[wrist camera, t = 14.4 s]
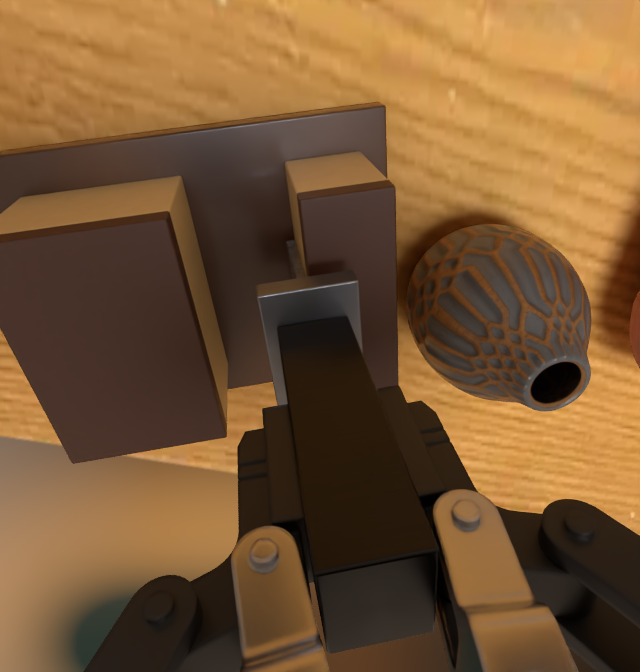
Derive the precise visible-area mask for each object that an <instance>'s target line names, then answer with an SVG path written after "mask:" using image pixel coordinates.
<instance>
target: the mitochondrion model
mask: <svg viewBox="0 0 640 672" xmlns="http://www.w3.org/2000/svg"><path fill="white" fill-rule="evenodd" d="M629 328H630V343H631V347H632V351H633V356H634V358H635V360H636V362H637V364H638V366H639V368H640V290H639V292H638V295H637V297H636V299H635V301H634V303H633V308H632V313H631V319H630V326H629Z"/></svg>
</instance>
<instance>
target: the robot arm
mask: <svg viewBox="0 0 640 672" xmlns="http://www.w3.org/2000/svg"><path fill="white" fill-rule="evenodd" d="M377 392H378V394H379V397H380V399H381V402H382V404H383V407H384V409H385V412H386V415H387V417H388V420H389V422H390V425H391V427H392V430H393V432H394V435H395V437H396V440H397V443H398V445H399V448H400V450H401V453H402V455H403V458H404V460H405V463H406V465H407V468H408V471H409V473H410V476H411V478H412V481H413V483H414V486H415V488H416V491H417V493H418V496H419V499H420V501H421V504H422V506H423V509H424V511H425V514H426V516H427V519H428V521H429V524H430V526H431V529H432V532H433V534H434V537H435V539H436V542H437V544H438V547H439V560H438V578H437V595H436V616H437V620H438V625H439V629H440V633H441V637H442V641H443V646H444V650H445V654H446V658H447V663H448V667H449V671H450V672H578V670H577V668H576V665H575V663H574V661H573V658H572V656H571V654H570V651H569V649H568V647H569V648H570V649H572V650H573V651H574V652H575V653H576V654H577V655H578V656H579V657H580V658H582V659H583V660H584V661H585V662H586V663H587V664H588V665H589V666H591V667H592V668H593V669H594V670H595V671H596V672H640V536H639V535H638V534H636V533H634V532H633V531H631V530H630V529H628V528H627V527H625V526H624V525H622V524H621V523H619V522H617V521H616V520H614V519H613V518H611V517H610V516H608V515H607V514H605V513H604V512H602V511H601V510H599V509H597V508H596V507H594V506H592V505H590V504H588V503H585V502H582V501H579V500H573V499H562V500H557V501H554V502H552V503H551V504H549V505H548V506H547V507H546V508H545V509H544V511H543V514H538V513H528V512H518V511H511V510H506V509H503V508H500V507H498V506H495V505H494V504H493V503H492V502H491V501H490V500H489V499H488V498H487V497H485V496H484V495H482V494H480V493H478V491H477V490H476V489H475V487H474V485H473V483H472V481H471V479H470V477H469V476H468V474H467V472H466V470H465V468H464V466H463V464H462V462H461V460H460V458H459V456H458V454H457V453H456V451H455V449H454V447H453V445H452V443H451V442H450V439H449V437H448V435H447V433H446V431H445V430H444V429H443V426H442V424H441V422H440V420H439V418H438V416H437V414H436V412H435V411H433V410H432V409H431V408H430V407H428V406H427V405H426V404H425V403H423V402H422V401H417V402H411V403H407V402H406V400H405V397H404V395H403V393H402V391H401V389H400V387H399V386H398V385H395V386H390V387H384V388H378V389H377ZM262 412H263V425H264V428H263V429H257V430H252V431H246V432H245V433H244V435H243V437H242V439H241V441H240V443H239V445H238V506H239V507H238V509H239V510H238V512H239V535H238V540H237V543H236V546H235V548H234V549H233V551H232V553H231V554H230V555H229V557H228V558H227V559H226V560H225V561H224V562H223V563H222V564H221V565H219V566H218V567H217V568H215V569H213V570H212V571H210V572H208V573H206V574H204V575H202V576H200V577H199V578H197V579H195V580H193V581H191V582H189V581H188V580H186V579H185V578H183V577H181V576H176V575H166V576H162V577H158V578H156V579H154V580H151V581H150V582H148V583H147V584H145V585H144V586H143V587H141V588H140V589H139V590H138V591H137V592H136V593H135V595H134V596H133V597H132V598H131V600H130V602H129V603H128V604H127V606H126V608H125V609H124V611H123V612H122V614H121V615H120V617H119V618H118V620H117V621H116V623H115V625H114V626H113V628H112V629H111V631H110V632H109V634H108V635H107V637H106V638H105V640H104V641H103V643H102V645H101V646H100V648H99V649H98V651H97V652H96V654H95V655H94V657H93V659H92V660H91V661H90V663H89V665H88V666H87V668H86V669H85V671H84V672H330V671H329V667H328V663H327V659H326V655H325V652H324V648H323V644H322V641H321V639H320V635H319V631H318V627H317V623H316V619H315V615H314V611H313V608H312V601H311V593H310V587H309V583H311V582H314V578H313V573H312V566H311V559H310V552H309V546H308V539H307V532H306V525H305V519H304V512H303V505H302V498H301V491H300V485H299V478H298V471H297V464H296V458H295V451H294V444H293V437H292V431H291V424H290V417H289V410H288V404H285V405H279V406H274V407H268V408H263V409H262ZM567 646H568V647H567Z"/></svg>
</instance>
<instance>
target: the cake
mask: <svg viewBox="0 0 640 672" xmlns="http://www.w3.org/2000/svg"><path fill="white" fill-rule="evenodd" d="M0 328H1V330H2V332H3V334H4V336H5V338H6V340H7V342H8V343H9V345H10V347H11V349H12V351H13V353H14V355H15V357H16V359H17V360H18V362H19V364H20V366H21V368H22V370H23V372H24V374H25V375H26V377H27V379H28V381H29V383H30V385H31V387H32V389H33V391H34V392H35V394H36V396H37V398H38V400H39V402H40V404H41V406H42V407H43V409H44V411H45V413H46V415H47V417H48V419H49V421H50V422H51V424H52V426H53V428H54V430H55V432H56V434H57V436H58V438H59V439H60V441H61V443H62V445H63V447H64V449H65V451H66V452H67V454H68V456H69V458H70V460H71V462H72V463H73V464H74V463H80V462H86V461H92V460H98V459H103V458H109V457H115V456H121V455H127V454H132V453H138V452H144V451H150V450H156V449H161V448H167V447H173V446H179V445H184V444H190V443H196V442H202V441H208V440H213V439H219V438H225V437H226V436H227V423H226V422H227V386H228V362H227V358H226V354H225V350H224V346H223V342H222V338H221V334H220V330H219V326H218V322H217V318H216V314H215V310H214V306H213V302H212V297H211V293H210V289H209V285H208V281H207V277H206V273H205V269H204V265H203V261H202V257H201V253H200V249H199V245H198V241H197V237H196V233H195V228H194V224H193V220H192V216H191V212H190V208H189V204H188V200H187V196H186V192H185V188H184V184H183V180H182V177H181V176H173V177H166V178H159V179H151V180H144V181H137V182H129V183H122V184H114V185H107V186H100V187H92V188H85V189H78V190H70V191H63V192H56V193H48V194H41V195H34V196H26V197H21V198H19V199H18V200H17V201H16V202H14V203H13V204H12V205H11V206H10V207H8V208H7V209H6V210H5V211H4V212H2V213H1V214H0Z"/></svg>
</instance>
